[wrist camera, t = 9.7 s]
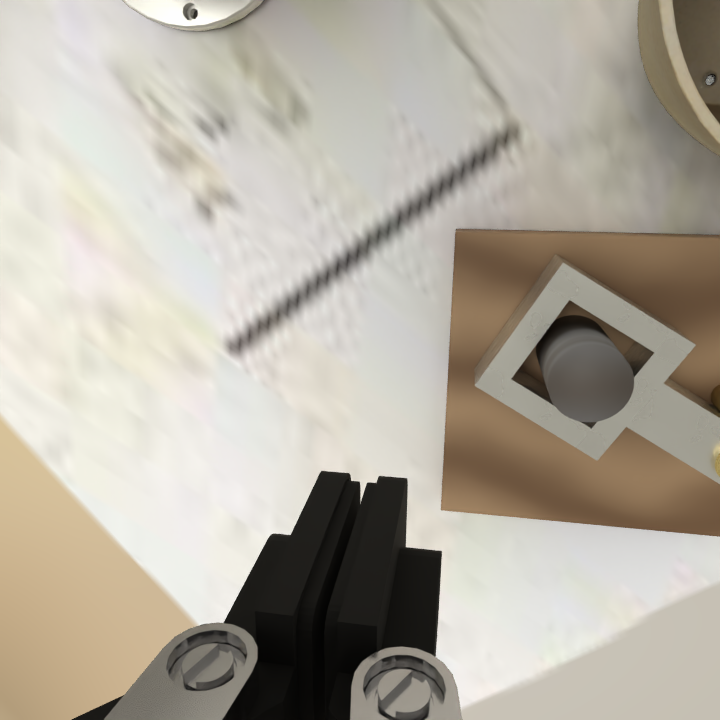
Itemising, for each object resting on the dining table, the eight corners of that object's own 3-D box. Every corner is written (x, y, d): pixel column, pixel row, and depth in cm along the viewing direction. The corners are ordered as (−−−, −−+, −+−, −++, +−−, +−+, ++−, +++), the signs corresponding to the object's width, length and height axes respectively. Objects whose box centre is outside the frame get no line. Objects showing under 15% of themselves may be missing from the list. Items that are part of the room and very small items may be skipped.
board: (456, 228, 36) (452, 246, 29) (792, 236, 33) (878, 258, 26) (442, 498, 42) (436, 567, 35) (728, 524, 39) (784, 605, 32)
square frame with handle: (474, 368, 37) (474, 389, 33) (555, 253, 34) (564, 264, 31) (688, 499, 37) (710, 533, 34) (786, 396, 34) (820, 423, 31)
